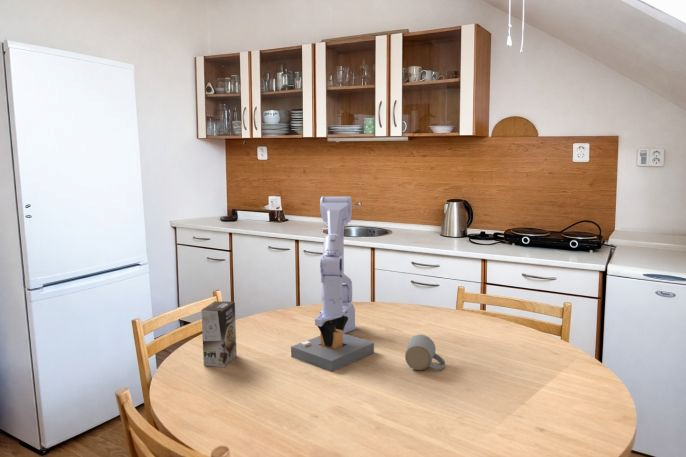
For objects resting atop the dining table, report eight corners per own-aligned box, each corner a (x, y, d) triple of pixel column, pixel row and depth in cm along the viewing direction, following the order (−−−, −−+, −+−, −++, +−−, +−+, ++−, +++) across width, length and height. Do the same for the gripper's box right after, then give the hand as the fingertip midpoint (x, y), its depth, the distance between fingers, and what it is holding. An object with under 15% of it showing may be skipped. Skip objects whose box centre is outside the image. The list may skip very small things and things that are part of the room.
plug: (328, 345, 158) (328, 322, 156) (342, 348, 155) (342, 325, 154) (320, 349, 154) (320, 326, 153) (335, 352, 152) (334, 329, 150)
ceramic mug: (403, 370, 143) (404, 343, 142) (407, 358, 151) (408, 332, 150) (443, 375, 141) (445, 347, 139) (446, 363, 148) (447, 336, 147)
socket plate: (334, 339, 166) (333, 328, 166) (374, 352, 156) (374, 340, 155) (291, 356, 153) (290, 343, 153) (331, 371, 143) (331, 358, 142)
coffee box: (224, 367, 146) (222, 310, 143) (202, 366, 147) (200, 309, 145) (237, 355, 155) (235, 301, 152) (217, 353, 156) (214, 300, 154)
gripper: (334, 289, 160) (335, 333, 162) (305, 301, 148) (306, 348, 150) (354, 293, 156) (355, 337, 158) (326, 305, 144) (327, 353, 146)
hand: (332, 343), depth 154 cm, fingers closed on plug, 4 cm apart
